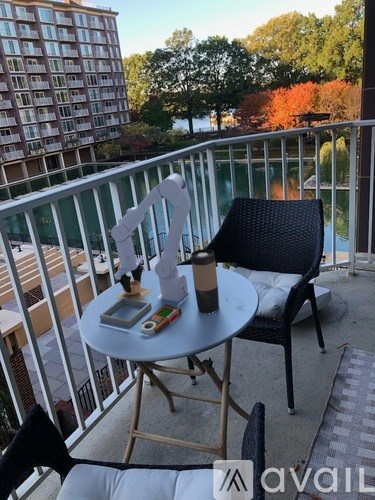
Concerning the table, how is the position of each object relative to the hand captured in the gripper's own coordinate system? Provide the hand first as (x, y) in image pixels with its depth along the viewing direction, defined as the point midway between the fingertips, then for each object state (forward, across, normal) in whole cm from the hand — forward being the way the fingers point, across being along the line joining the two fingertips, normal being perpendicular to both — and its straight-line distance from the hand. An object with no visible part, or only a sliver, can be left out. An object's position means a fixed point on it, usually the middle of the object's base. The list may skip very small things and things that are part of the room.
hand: (133, 288), depth 137 cm
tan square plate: (+3, 0, 0) cm, 3 cm away
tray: (+3, +12, +6) cm, 14 cm away
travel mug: (+3, 0, +31) cm, 31 cm away
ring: (+1, 0, 0) cm, 1 cm away
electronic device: (+4, +13, +20) cm, 24 cm away
